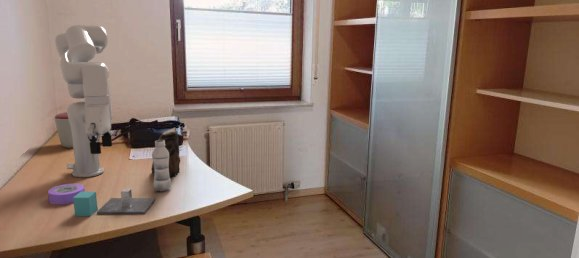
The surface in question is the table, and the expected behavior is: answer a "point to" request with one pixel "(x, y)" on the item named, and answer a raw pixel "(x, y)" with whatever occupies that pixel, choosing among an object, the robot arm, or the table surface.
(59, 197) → the masking tape
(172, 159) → the owl
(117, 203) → the dark grey base plate
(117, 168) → the table surface
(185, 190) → the table surface
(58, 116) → the canister
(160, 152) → the plastic bottle
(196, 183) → the table surface
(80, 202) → the teal rounded cube
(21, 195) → the table surface
